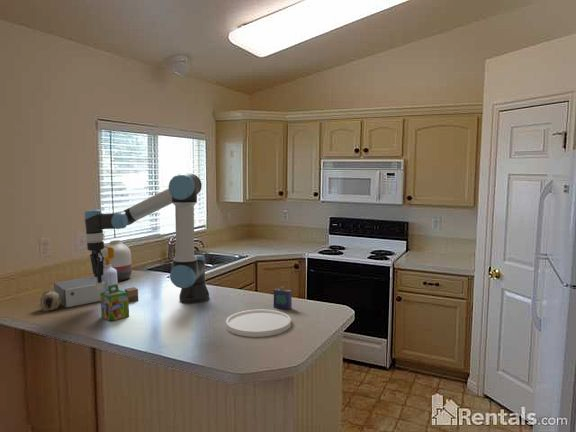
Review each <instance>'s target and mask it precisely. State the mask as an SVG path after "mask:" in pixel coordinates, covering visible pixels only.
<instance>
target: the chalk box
mask: <svg viewBox="0 0 576 432" xmlns="http://www.w3.org/2000/svg"><path fill="white" fill-rule="evenodd" d="M113 287H115V288H116V290H111V288H113ZM108 290H109V291H106V292H103V293H100V296H101V301H100V313H101V318H102V319H105V320H108V321H109V322H114V321H117V320H120V319H121V320H122V319H125V318H128V317H130V306H129V305H130V302H129V300H128V292H125V290H123V289H119V286H118V285H117V284H115V285H111V286H108Z"/></svg>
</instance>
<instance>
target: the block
mask: <svg viewBox="0 0 576 432" xmlns="http://www.w3.org/2000/svg"><path fill="white" fill-rule="evenodd" d="M124 291H125V292H128V300H129V303H133V302H138V301H139V289H138V288H136V287H135V286H133V287H129V288H124Z"/></svg>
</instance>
